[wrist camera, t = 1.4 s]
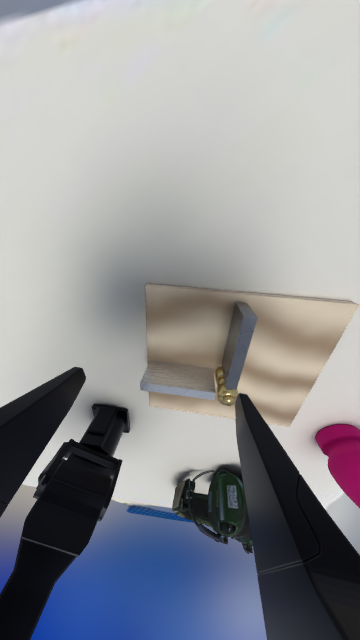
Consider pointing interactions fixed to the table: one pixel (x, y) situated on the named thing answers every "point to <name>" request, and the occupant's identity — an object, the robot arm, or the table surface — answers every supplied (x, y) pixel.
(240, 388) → the board
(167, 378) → the fixed leaf
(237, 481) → the headphones
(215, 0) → the table surface
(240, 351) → the swing leaf
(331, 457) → the pepper mill
